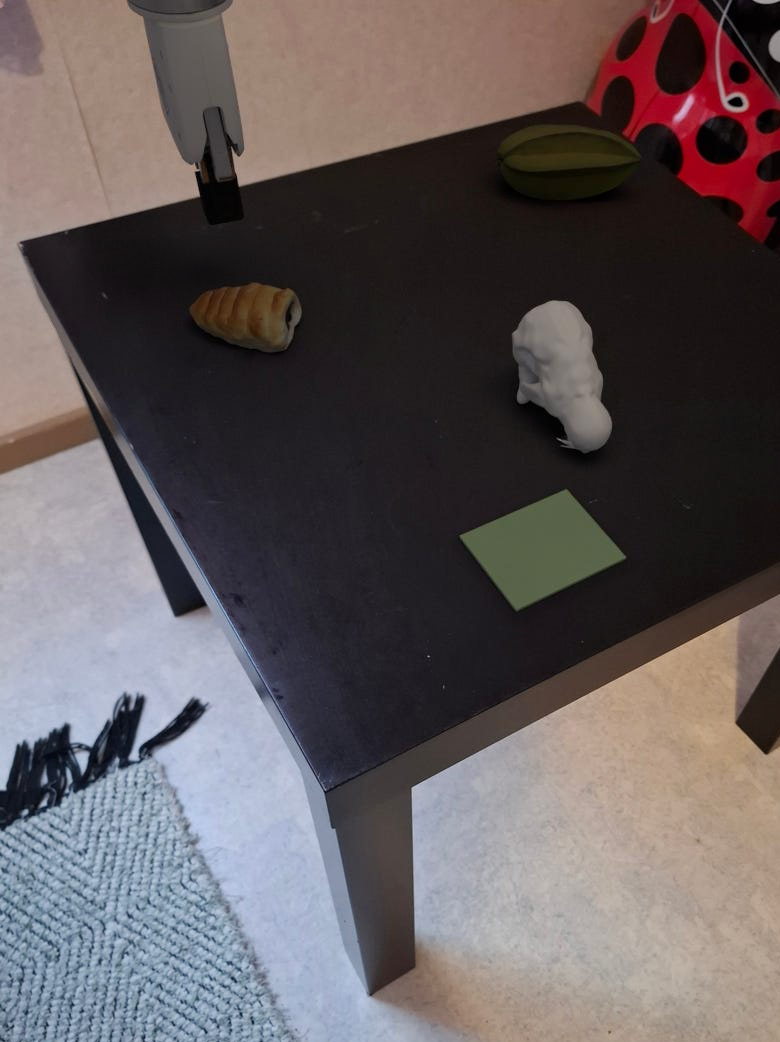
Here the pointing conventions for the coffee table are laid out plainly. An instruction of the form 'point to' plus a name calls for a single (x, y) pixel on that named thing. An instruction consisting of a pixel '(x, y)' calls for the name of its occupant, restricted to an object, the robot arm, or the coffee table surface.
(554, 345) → the grey lumpy elongated piece
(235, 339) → the pastry
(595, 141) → the fruit
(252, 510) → the coffee table surface
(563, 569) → the cloth
